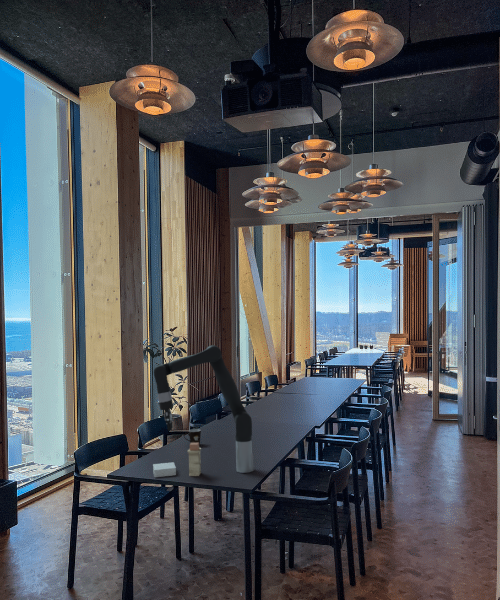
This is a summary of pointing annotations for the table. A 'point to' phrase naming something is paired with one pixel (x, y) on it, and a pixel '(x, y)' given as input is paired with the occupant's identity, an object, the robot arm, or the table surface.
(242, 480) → the table surface
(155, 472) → the block
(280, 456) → the table surface
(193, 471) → the beige rectangular pillar
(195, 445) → the block
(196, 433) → the coffee mug
